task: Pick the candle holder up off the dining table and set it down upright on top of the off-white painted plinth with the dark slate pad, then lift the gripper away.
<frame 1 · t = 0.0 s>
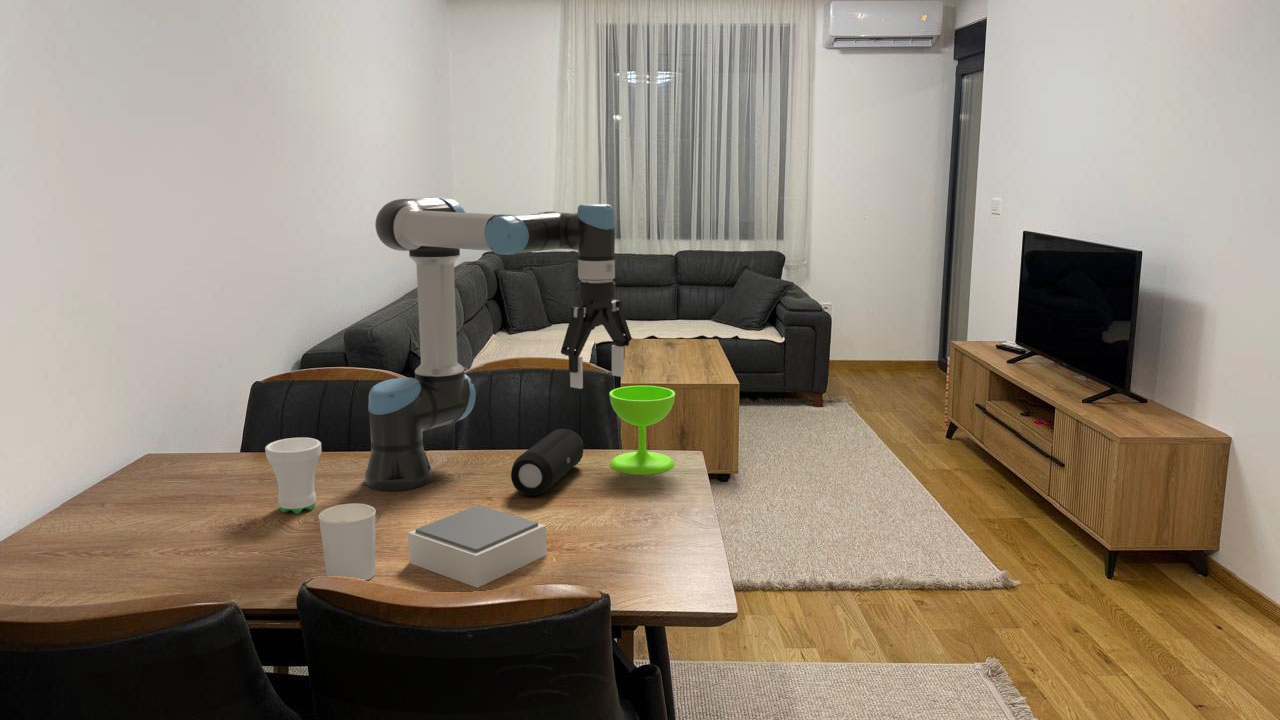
hand: (597, 381, 205), 28 cm above the table, fingers open, 13 cm apart
plinth: (478, 559, 184), on the table
cup: (298, 509, 211), on the table
portable speaker: (549, 482, 229), on the table
candle holder: (351, 576, 177), on the table
wineglass: (642, 465, 241), on the table
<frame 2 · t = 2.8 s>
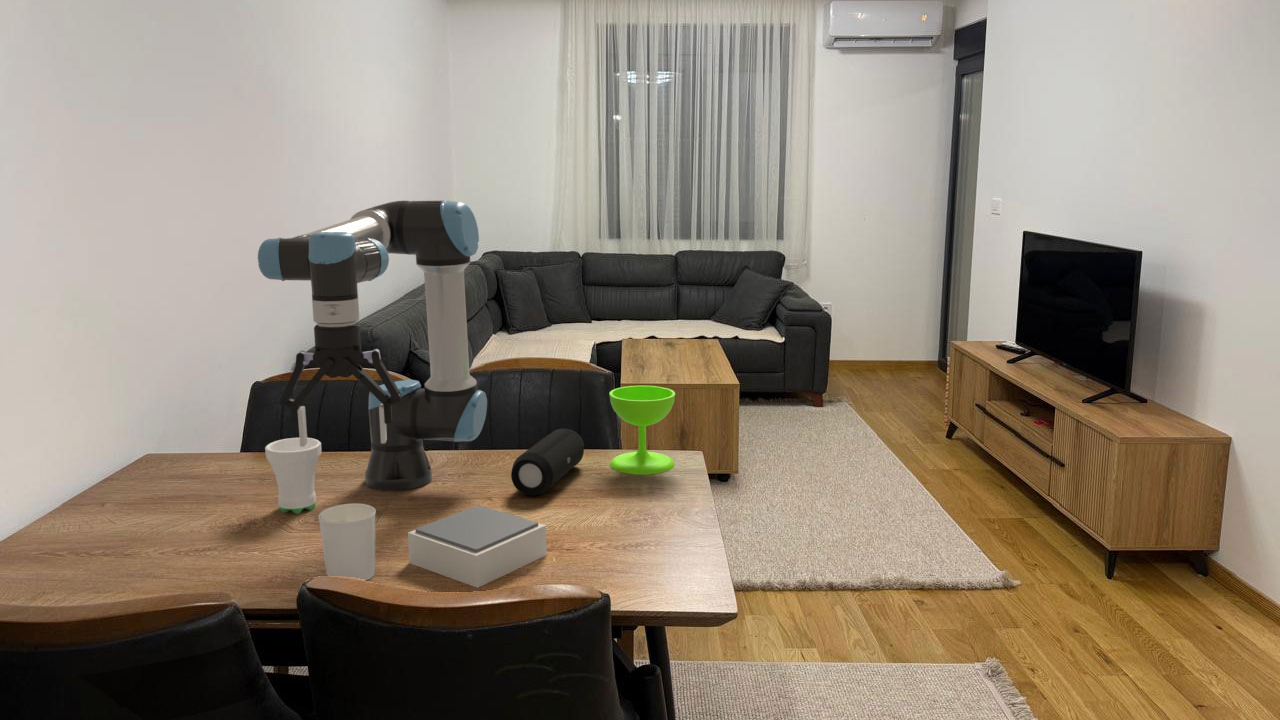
hand: (344, 443, 172), 25 cm above the table, fingers open, 13 cm apart
nothing on the table moved.
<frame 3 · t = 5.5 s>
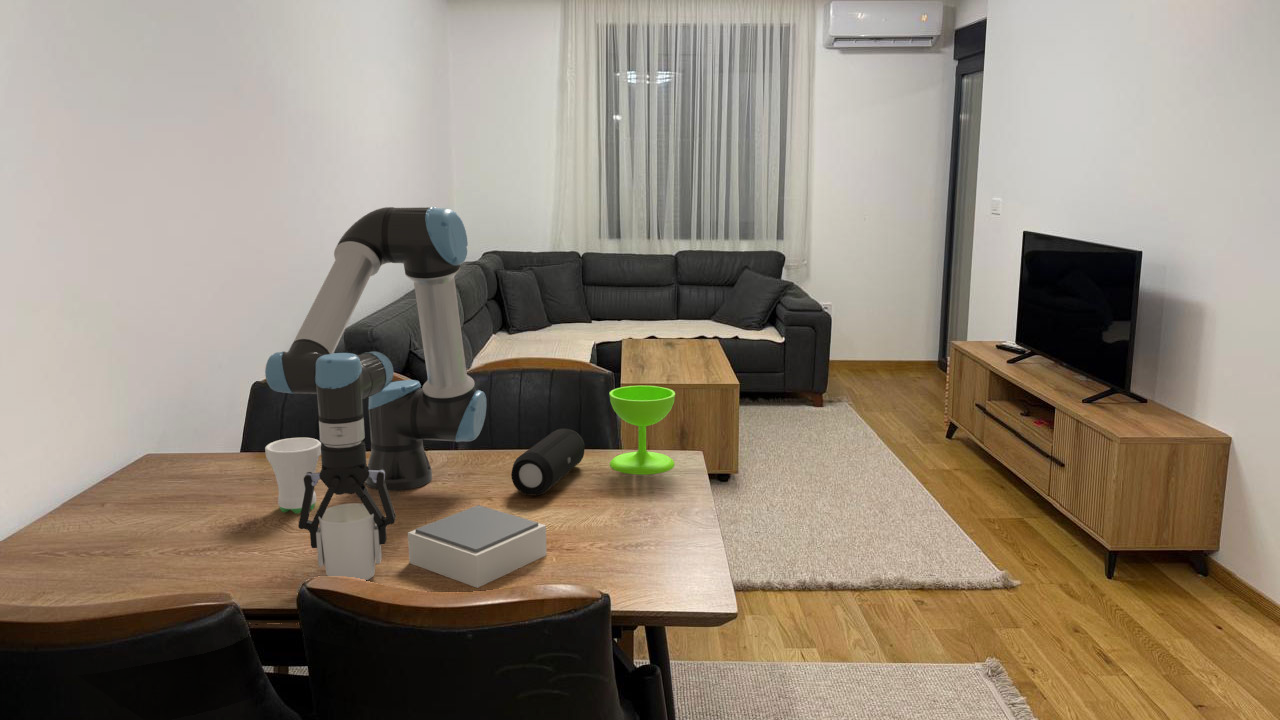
hand: (350, 562, 176), 3 cm above the table, fingers closed on candle holder, 9 cm apart
candle holder: (351, 576, 177), on the table, touching gripper
everything else where it was.
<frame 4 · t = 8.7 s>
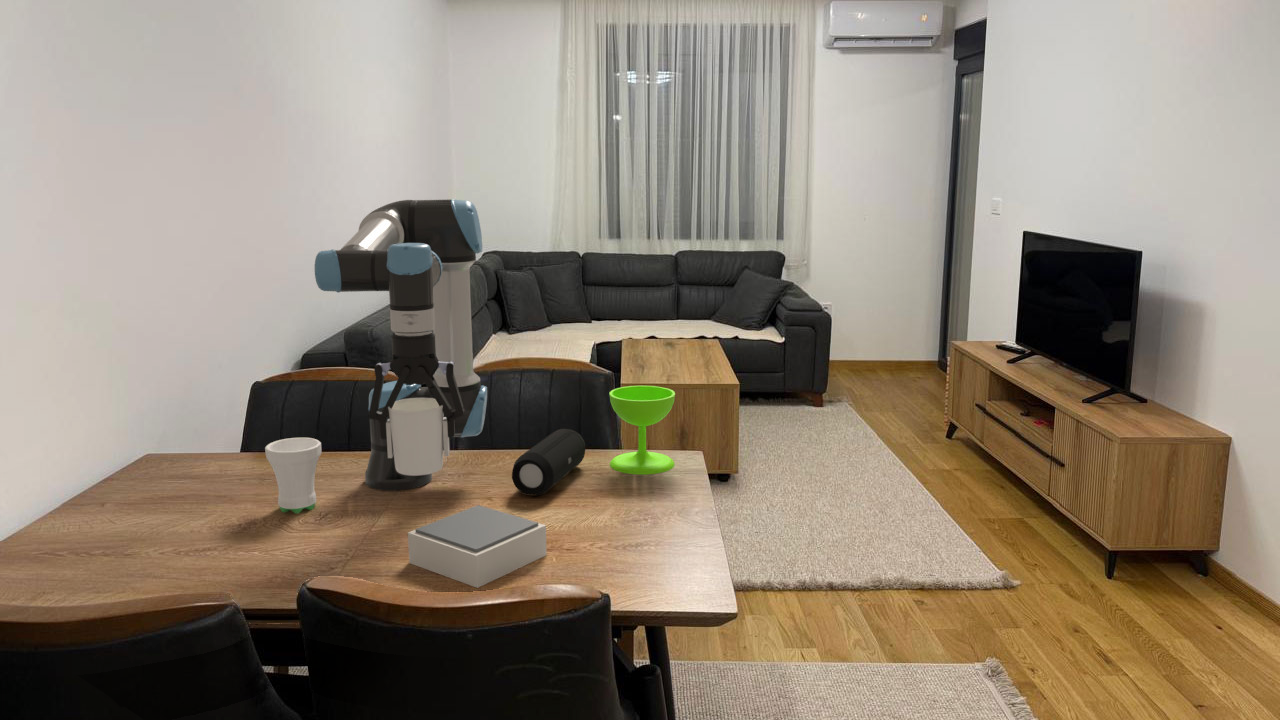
hand: (419, 454, 177), 21 cm above the table, fingers closed on candle holder, 9 cm apart
candle holder: (419, 469, 177), point 19 cm above the table, touching gripper
everything else where it was.
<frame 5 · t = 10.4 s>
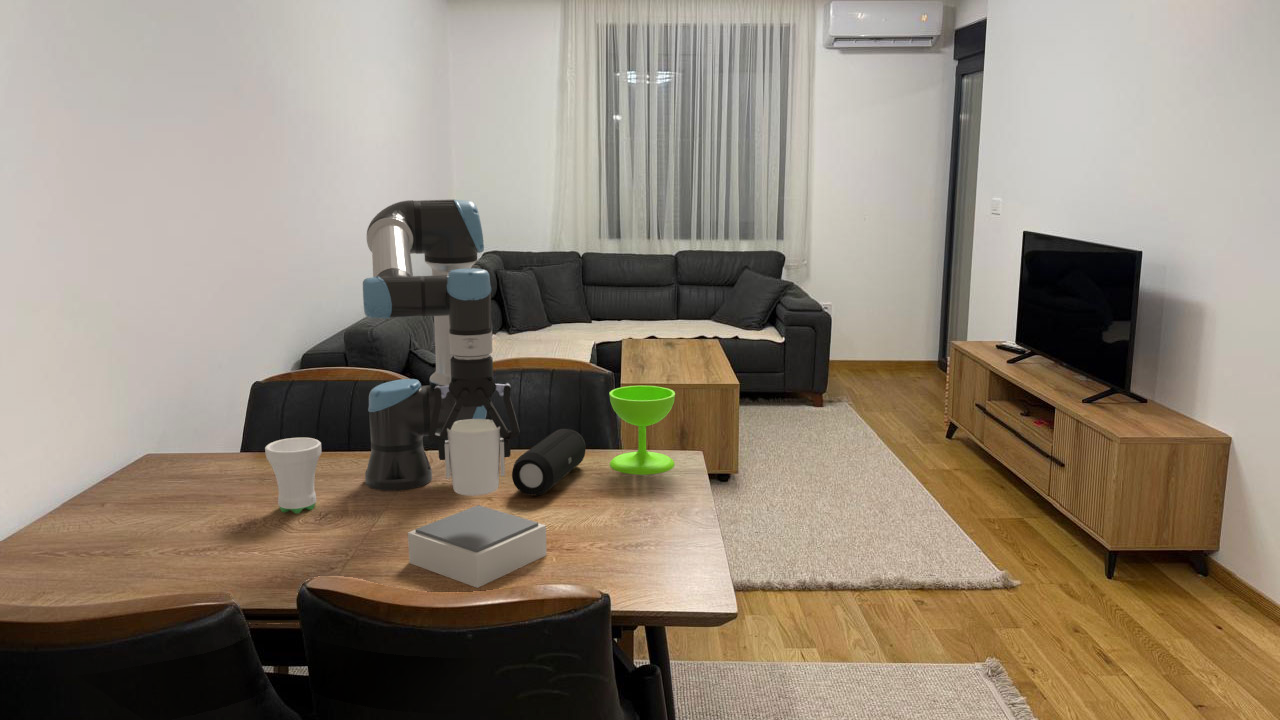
hand: (475, 475, 181), 17 cm above the table, fingers closed on candle holder, 9 cm apart
candle holder: (476, 489, 181), point 14 cm above the table, touching gripper
everything else where it was.
when the fingers open (10 cm above the table, at t = 11.9 s): candle holder drops 1 cm, resting on plinth.
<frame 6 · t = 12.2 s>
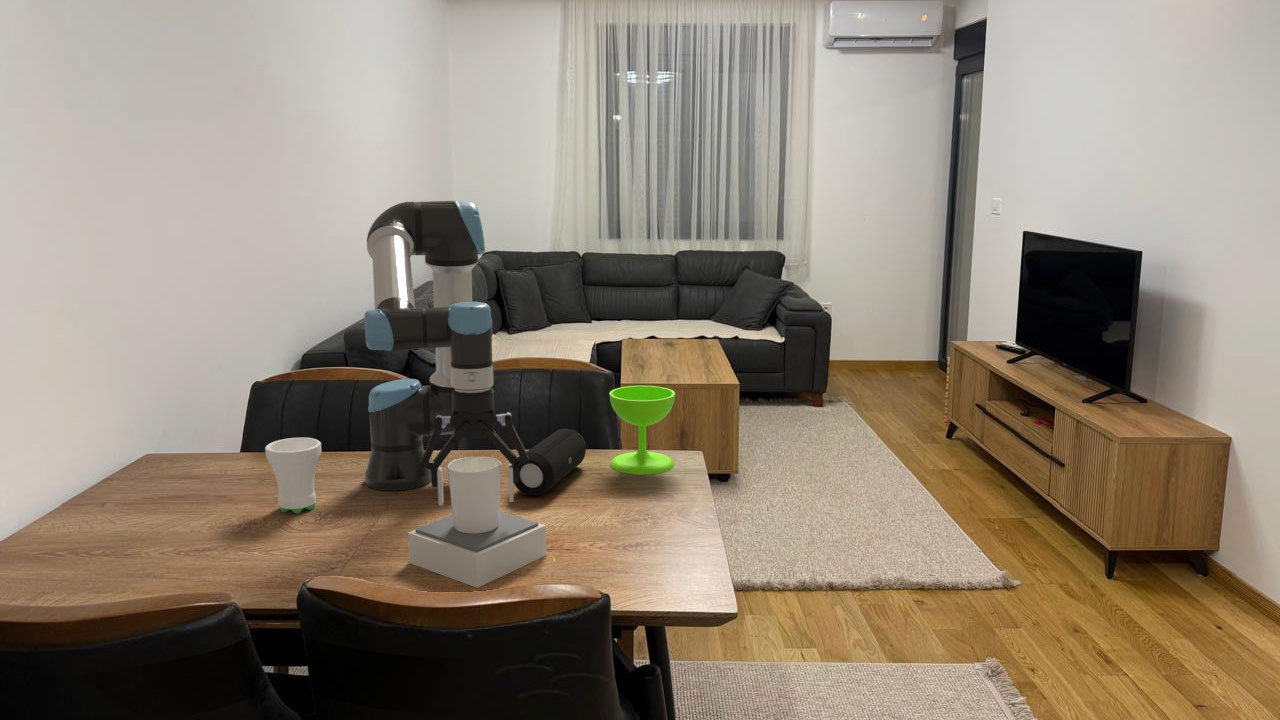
hand: (476, 501, 182), 11 cm above the table, fingers open, 12 cm apart
candle holder: (476, 526, 183), point 6 cm above the table, touching plinth
everything else where it was.
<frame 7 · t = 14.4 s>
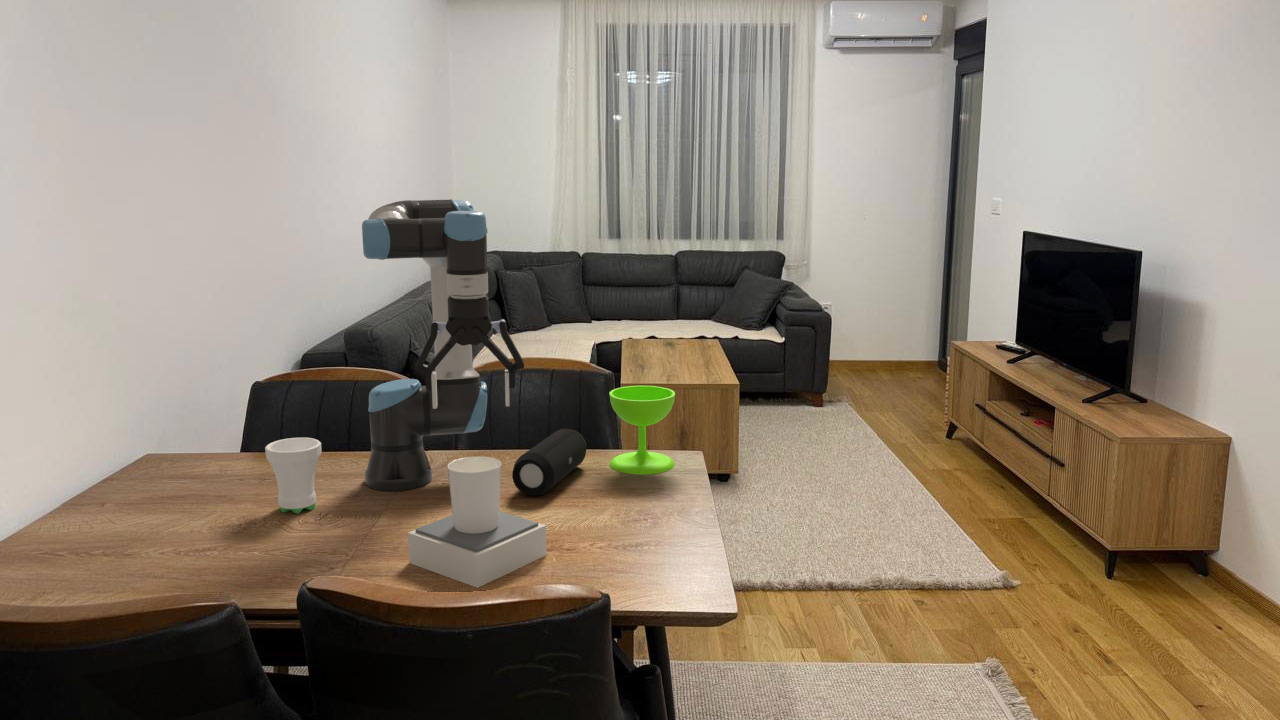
hand: (471, 405, 187), 28 cm above the table, fingers open, 13 cm apart
nothing on the table moved.
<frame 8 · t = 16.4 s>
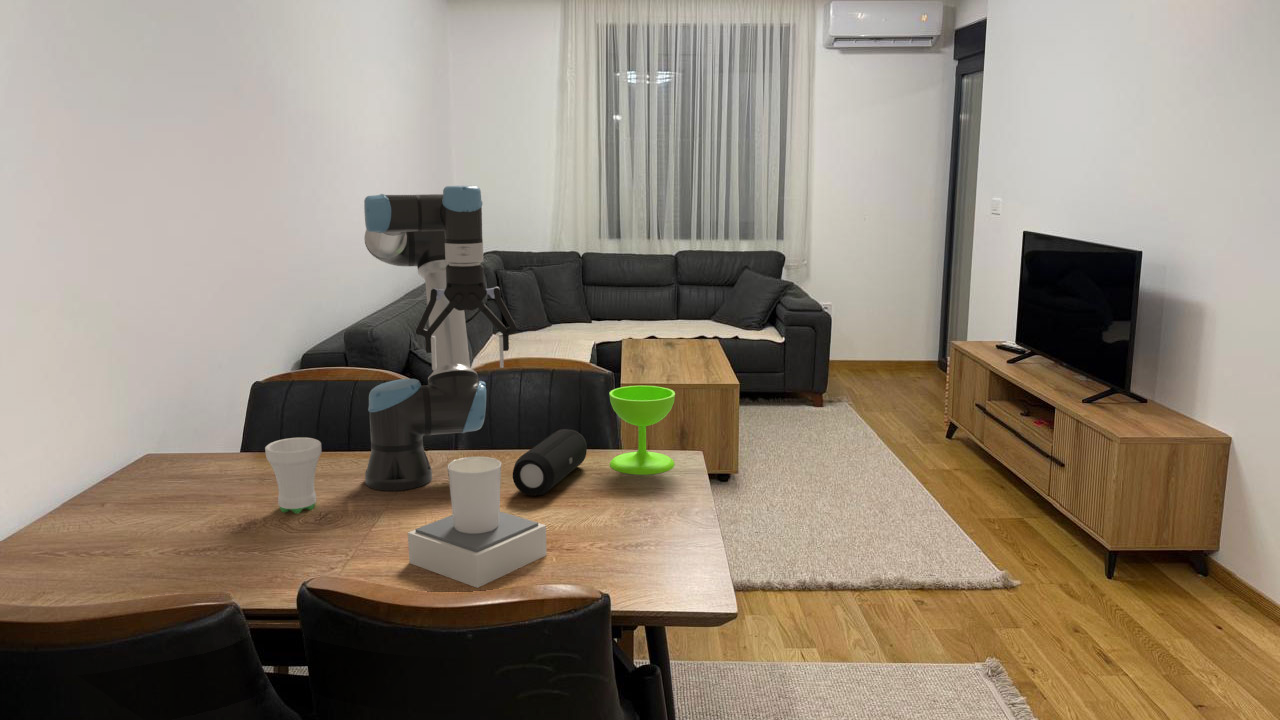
hand: (468, 367, 201), 32 cm above the table, fingers open, 13 cm apart
nothing on the table moved.
at the end: candle holder inside the target area on the plinth (0.1 cm from its centre), point 6.4 cm above the plinth's base; candle holder tilted 0°; the gripper is holding nothing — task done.
